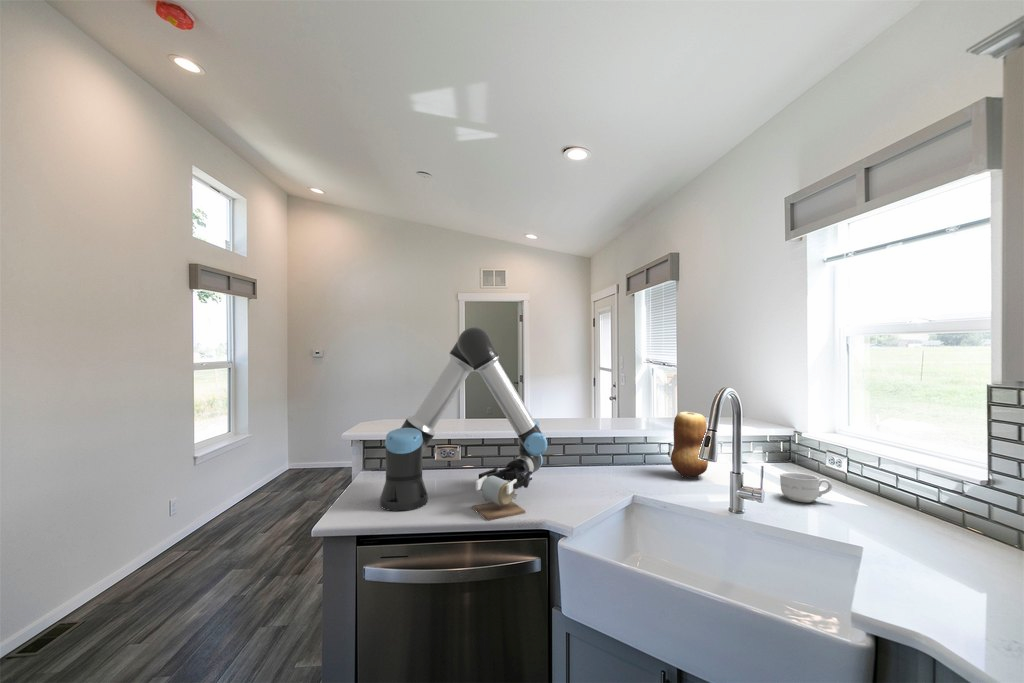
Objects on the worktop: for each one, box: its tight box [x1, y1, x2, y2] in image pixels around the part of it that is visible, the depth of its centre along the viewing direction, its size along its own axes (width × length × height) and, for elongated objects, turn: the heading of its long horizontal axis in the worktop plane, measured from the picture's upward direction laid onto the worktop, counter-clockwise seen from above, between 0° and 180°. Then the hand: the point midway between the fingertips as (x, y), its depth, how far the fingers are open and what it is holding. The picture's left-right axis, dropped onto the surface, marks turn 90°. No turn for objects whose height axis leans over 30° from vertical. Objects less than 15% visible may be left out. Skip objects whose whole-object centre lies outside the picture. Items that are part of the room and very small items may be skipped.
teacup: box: [779, 472, 833, 503], centre depth 139 cm, size 14×11×8 cm
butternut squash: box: [669, 411, 709, 478], centre depth 168 cm, size 14×13×25 cm
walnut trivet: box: [472, 500, 526, 522], centre depth 133 cm, size 12×13×1 cm
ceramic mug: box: [480, 476, 518, 506], centre depth 134 cm, size 11×8×8 cm
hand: (492, 487), depth 129 cm, fingers closed on ceramic mug, 9 cm apart
